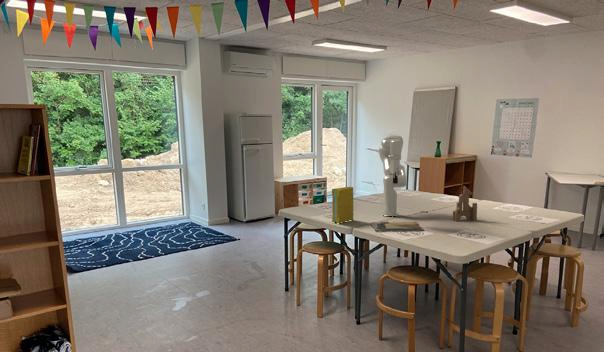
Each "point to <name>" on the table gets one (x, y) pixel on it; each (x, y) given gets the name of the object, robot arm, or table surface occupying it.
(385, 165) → the robot arm
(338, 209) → the book
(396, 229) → the mat
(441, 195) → the table surface
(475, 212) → the wooden toy
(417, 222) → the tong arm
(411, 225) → the tongs fixed
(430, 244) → the table surface
